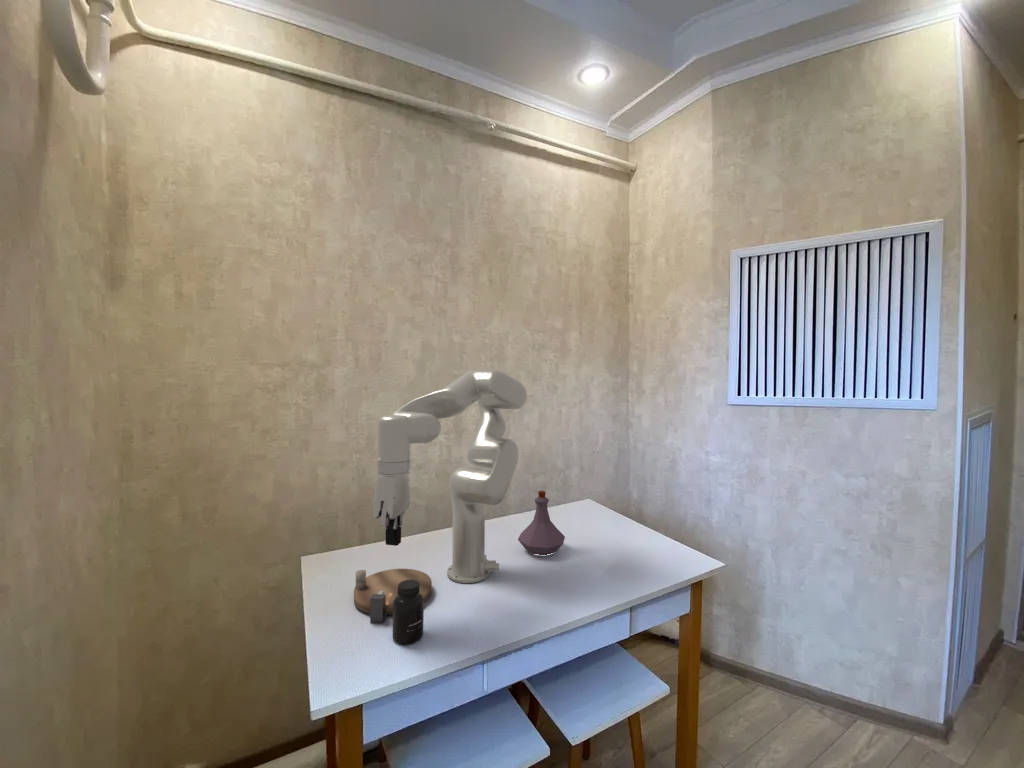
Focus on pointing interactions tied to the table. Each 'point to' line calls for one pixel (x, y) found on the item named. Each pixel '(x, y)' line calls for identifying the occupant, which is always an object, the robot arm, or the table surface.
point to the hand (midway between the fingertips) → (393, 543)
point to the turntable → (387, 586)
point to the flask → (541, 531)
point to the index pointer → (378, 608)
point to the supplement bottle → (408, 613)
